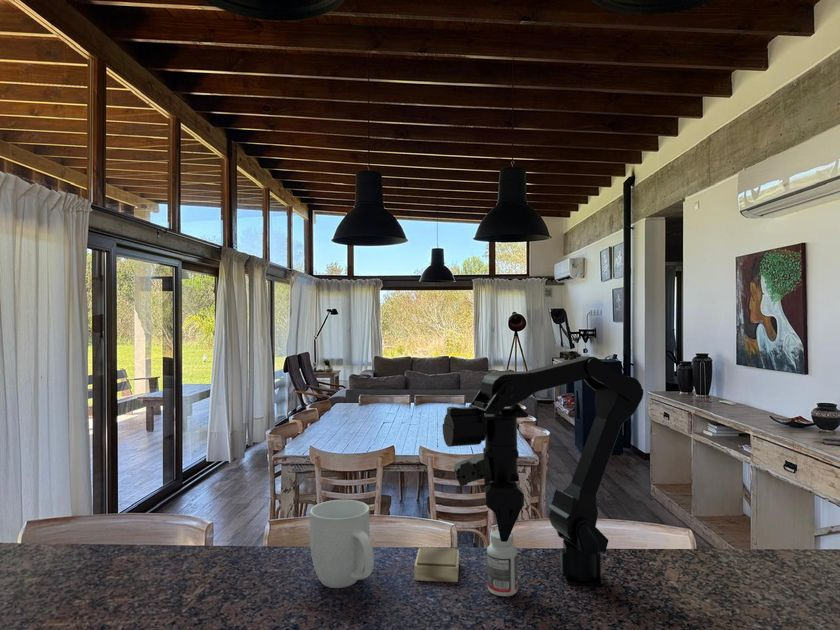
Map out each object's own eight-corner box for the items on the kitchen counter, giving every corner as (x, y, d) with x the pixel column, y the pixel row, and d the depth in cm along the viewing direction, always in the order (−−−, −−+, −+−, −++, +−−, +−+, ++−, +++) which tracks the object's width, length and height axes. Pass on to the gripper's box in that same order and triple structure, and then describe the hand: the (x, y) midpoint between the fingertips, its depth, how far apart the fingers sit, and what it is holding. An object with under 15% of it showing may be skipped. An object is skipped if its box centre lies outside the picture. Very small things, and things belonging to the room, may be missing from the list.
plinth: (458, 563, 102) (458, 547, 102) (457, 582, 94) (457, 565, 94) (418, 561, 102) (418, 546, 103) (414, 580, 95) (414, 563, 95)
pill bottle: (501, 579, 95) (500, 526, 95) (524, 590, 91) (523, 534, 91) (480, 588, 91) (480, 533, 92) (503, 600, 87) (503, 542, 88)
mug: (395, 587, 92) (395, 513, 92) (344, 610, 84) (345, 529, 85) (346, 561, 102) (346, 495, 103) (297, 579, 95) (298, 508, 95)
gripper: (457, 432, 102) (458, 512, 102) (454, 454, 84) (455, 551, 83) (514, 433, 101) (515, 513, 100) (523, 455, 82) (525, 553, 82)
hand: (502, 531), depth 91 cm, fingers open, 9 cm apart
